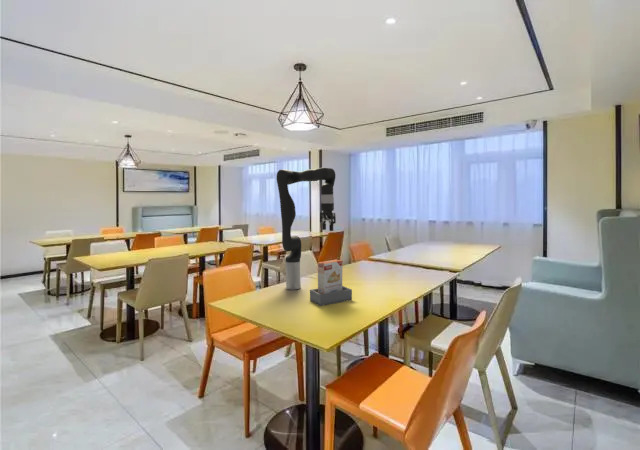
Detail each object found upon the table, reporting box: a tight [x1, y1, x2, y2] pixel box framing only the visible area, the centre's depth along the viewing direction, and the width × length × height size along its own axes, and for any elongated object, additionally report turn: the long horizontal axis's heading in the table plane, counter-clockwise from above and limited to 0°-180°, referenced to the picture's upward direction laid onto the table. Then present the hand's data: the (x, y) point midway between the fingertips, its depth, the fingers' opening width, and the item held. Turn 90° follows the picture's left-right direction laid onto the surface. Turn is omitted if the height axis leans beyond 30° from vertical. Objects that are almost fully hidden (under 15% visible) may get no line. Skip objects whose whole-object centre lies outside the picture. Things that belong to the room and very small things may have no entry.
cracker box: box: [317, 259, 343, 294], centre depth 187 cm, size 14×6×21 cm, turn 131°
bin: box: [309, 285, 353, 307], centre depth 187 cm, size 12×20×6 cm, turn 119°
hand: (327, 230), depth 196 cm, fingers open, 8 cm apart
